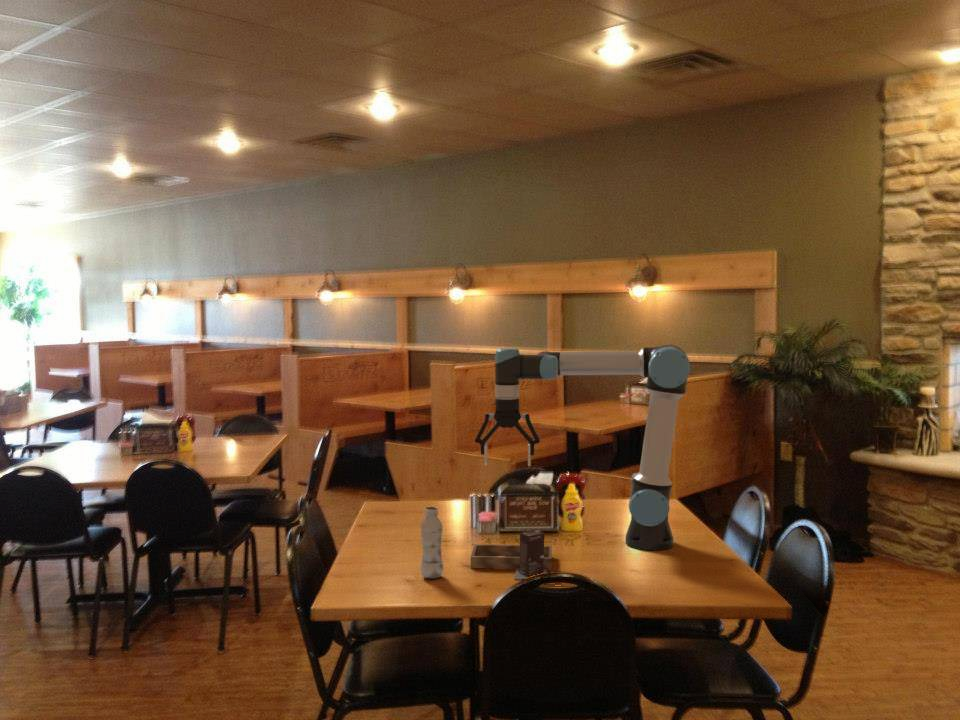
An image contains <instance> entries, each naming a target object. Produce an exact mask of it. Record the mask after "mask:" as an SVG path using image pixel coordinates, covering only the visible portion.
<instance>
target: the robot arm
mask: <svg viewBox="0 0 960 720" xmlns="http://www.w3.org/2000/svg"><path fill="white" fill-rule="evenodd" d="M494 361H495V362H494V377H495V379H494V380H495V381H494V391H495V393H494V394H495V395H494V397H496V398H495V400H494V401H495V402H494V403H495V405H494V406H495V408H494V409H495V410H494V413H489V412H485V414H484V421H483V423H482V426H481V428H480V429H479V431H478V433H477V435H476V437H475V440H474V442H475V443H477V444H479V445H480V454H481V455H483V457H484V461H483V462H484V465H483V466H485V467H487V466H488V443H487V441H488V440H489V439H490V437H492V436H493V434H494V433H495V432H496V431H497V430H498V428H499V427H501V428H502V429H506V428H508V429H513V428H515V429H516V430H517V431H518V432H519V433H520V434H521V435H522V436H523V438H524V439H525V440H526V442H528V444H527V467H531V463H532V462H531V456H534V455H535V445H537V444H540V442H541V439H540V437H539V435H538V432H537V431H536V429H535V427H534V425H533V423H532V421H531V419H530V418H531V417H530V413H529V412H525V413H520V398H519V397H520V380H544V381H548V380H549V381H550V380H556V379H557V378H558V376H620V375H621V376H622V375H623V376H626V375H627V376H629V375H630V376H633V375H634V376H635V375H636V376H637V375H638V376H641V377H642V378H643V379H645V378H646V384H645V385H646V386H645V390H646V391H647V392H648V393H649V401H648V410H647V415H646V421H645V429H644V435H643V443H642V450H641V451H642V452H641V457H640V458H641V459H640V463H639V464H640V465H639V471H638V472H633V474H631V480H630V483H631V489H630V490H631V491H630V498H629V501H628V509H629V512H630V513H629V514H630V515H631V516H630V518H631V519H630V521H629V525H628V527H627V531H626V533H625V544H626V546H628V547H630V548H633V549H636V550H644V551H665V550H669V549H671V548H673V547H674V541H675V540H674V536H673V532H672V528H671V526H670V522H669V514H670V499H671V493H672V486H673V482H672V480H671V479H670V478H669V471H670V464H671V457H672V449H673V445H674V444H673V443H674V437H675V430H676V423H677V416H678V408H679V403H680V399H682V397H684V396H685V395H686V392H687V385H688V378H689V375H690V372H691V363H690V359H689V357H688V355H687V353H686V352H685V351H684V350H683V349H682V348H681V347H679V346H677V345H674V344H665V345H664V344H663V345H660V346H659V345H657V346H648V347H642V348H641V349H640V350H609V351H607V350H605V351H604V350H603V351H602V350H601V351H560V352H558V351H548V350H547V351H541V352H538V353H537V354H528V355H527V354H526V355H525V354H520V349H518V348H514V347H513V348H512V347H509V348H507V347H504V348H503V347H502V348H498V349H496V351H495V360H494ZM492 419H494V421H495V422H496V423H495V424H494V426H492V428H491V429H490V430H489V431H488V433H486V434H485V436H484V437H483V438H481V437H482V435H483V434H484V432H485V430H486V428H487V426H488V423H489V421H492ZM521 419H522V421H525V422H526V425H527V427H528V429H529V431H530V433H531V434H532V437H533V438H532V437H531V436H530V435H529V434H528V432H527V431H526V430H525V428H523V426H522V425H521V423H519V421H520V420H521Z"/></svg>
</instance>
